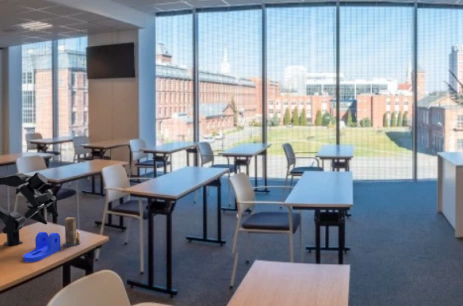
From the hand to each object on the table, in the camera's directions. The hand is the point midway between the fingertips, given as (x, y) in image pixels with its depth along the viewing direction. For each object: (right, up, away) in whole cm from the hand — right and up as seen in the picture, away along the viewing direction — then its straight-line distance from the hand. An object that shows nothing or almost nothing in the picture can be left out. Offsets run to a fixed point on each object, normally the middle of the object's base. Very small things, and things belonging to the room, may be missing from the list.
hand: (52, 220), depth 220 cm
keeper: (+9, -12, +1) cm, 15 cm away
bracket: (+1, -14, -14) cm, 20 cm away
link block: (+9, -11, +1) cm, 14 cm away
